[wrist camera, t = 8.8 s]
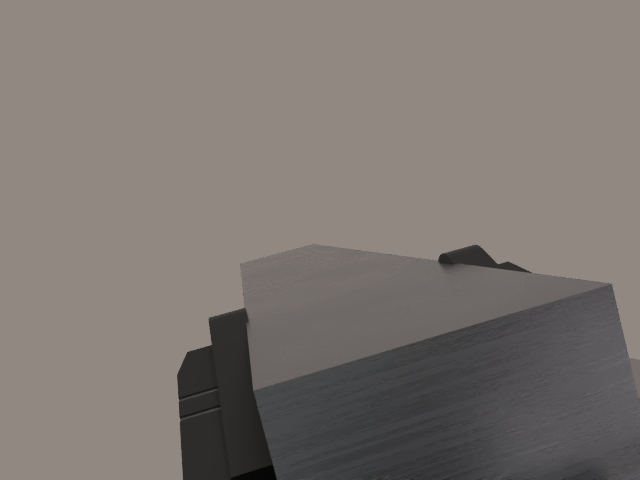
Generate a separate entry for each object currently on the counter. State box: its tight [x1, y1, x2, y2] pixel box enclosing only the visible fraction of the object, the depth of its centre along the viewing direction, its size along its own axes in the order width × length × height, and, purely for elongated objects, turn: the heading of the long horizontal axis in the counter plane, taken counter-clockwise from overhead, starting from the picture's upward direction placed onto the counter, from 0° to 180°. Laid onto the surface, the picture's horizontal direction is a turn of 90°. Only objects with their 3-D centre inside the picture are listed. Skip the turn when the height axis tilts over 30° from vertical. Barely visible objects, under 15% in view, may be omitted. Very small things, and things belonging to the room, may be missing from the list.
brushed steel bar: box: [240, 244, 640, 480], centre depth 18 cm, size 4×24×4 cm, turn 8°
